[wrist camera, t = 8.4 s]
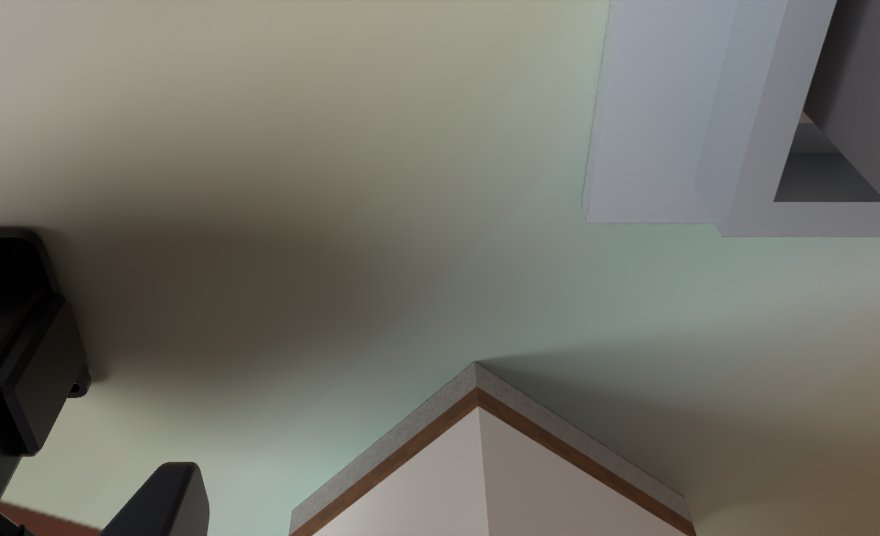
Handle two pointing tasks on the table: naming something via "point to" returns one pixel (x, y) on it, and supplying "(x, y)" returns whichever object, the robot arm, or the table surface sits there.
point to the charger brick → (851, 86)
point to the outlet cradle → (720, 122)
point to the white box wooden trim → (490, 476)
